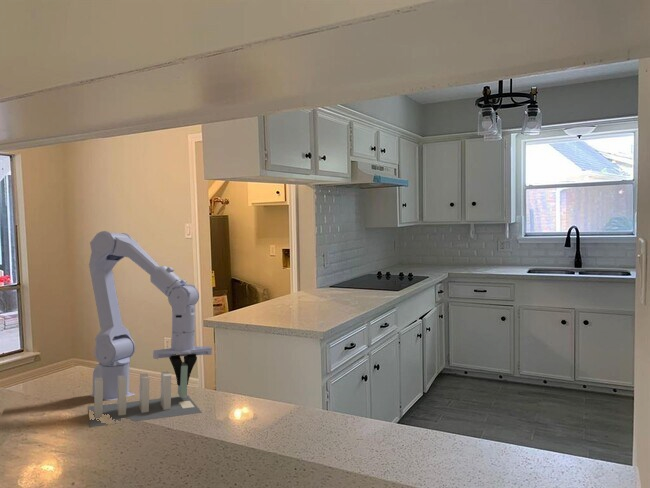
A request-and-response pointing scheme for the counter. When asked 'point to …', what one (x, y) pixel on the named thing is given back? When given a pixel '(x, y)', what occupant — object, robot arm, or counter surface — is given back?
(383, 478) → the counter surface
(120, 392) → the domino
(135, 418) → the mat
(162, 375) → the domino
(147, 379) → the domino
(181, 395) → the domino
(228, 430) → the counter surface
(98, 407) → the domino
